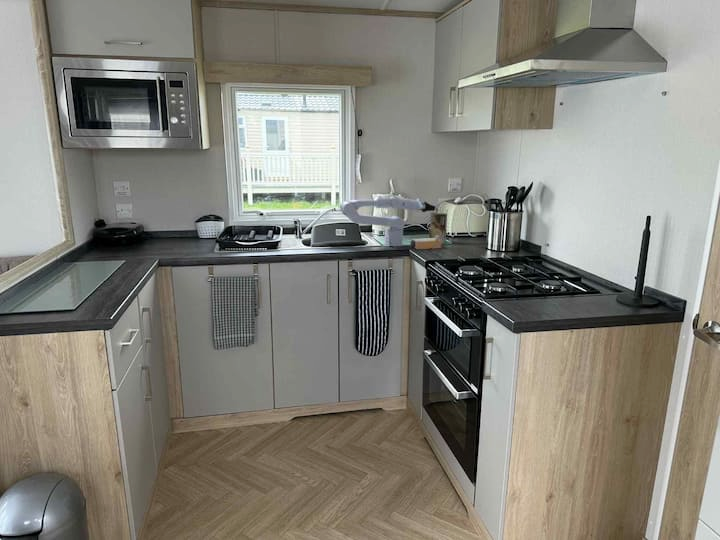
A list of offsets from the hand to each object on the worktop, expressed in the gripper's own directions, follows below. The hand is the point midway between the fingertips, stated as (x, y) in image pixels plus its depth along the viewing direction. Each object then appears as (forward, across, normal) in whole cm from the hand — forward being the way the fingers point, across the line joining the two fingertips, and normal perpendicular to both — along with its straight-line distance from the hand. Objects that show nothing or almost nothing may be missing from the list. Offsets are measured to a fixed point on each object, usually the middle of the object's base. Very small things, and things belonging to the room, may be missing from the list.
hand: (432, 208), depth 279 cm
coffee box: (+10, +6, +18) cm, 22 cm away
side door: (-3, -11, +21) cm, 24 cm away
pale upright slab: (-3, -6, +21) cm, 22 cm away
